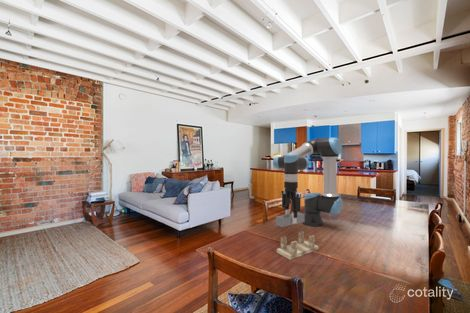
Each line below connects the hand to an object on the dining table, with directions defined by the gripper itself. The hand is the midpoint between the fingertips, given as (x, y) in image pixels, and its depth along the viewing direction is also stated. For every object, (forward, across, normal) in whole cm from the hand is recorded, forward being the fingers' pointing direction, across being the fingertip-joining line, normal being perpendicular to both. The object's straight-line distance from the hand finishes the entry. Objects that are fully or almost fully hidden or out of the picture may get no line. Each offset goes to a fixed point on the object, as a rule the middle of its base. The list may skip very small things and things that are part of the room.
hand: (290, 221), depth 128 cm
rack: (+15, +5, +1) cm, 16 cm away
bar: (+1, 0, 0) cm, 1 cm away
